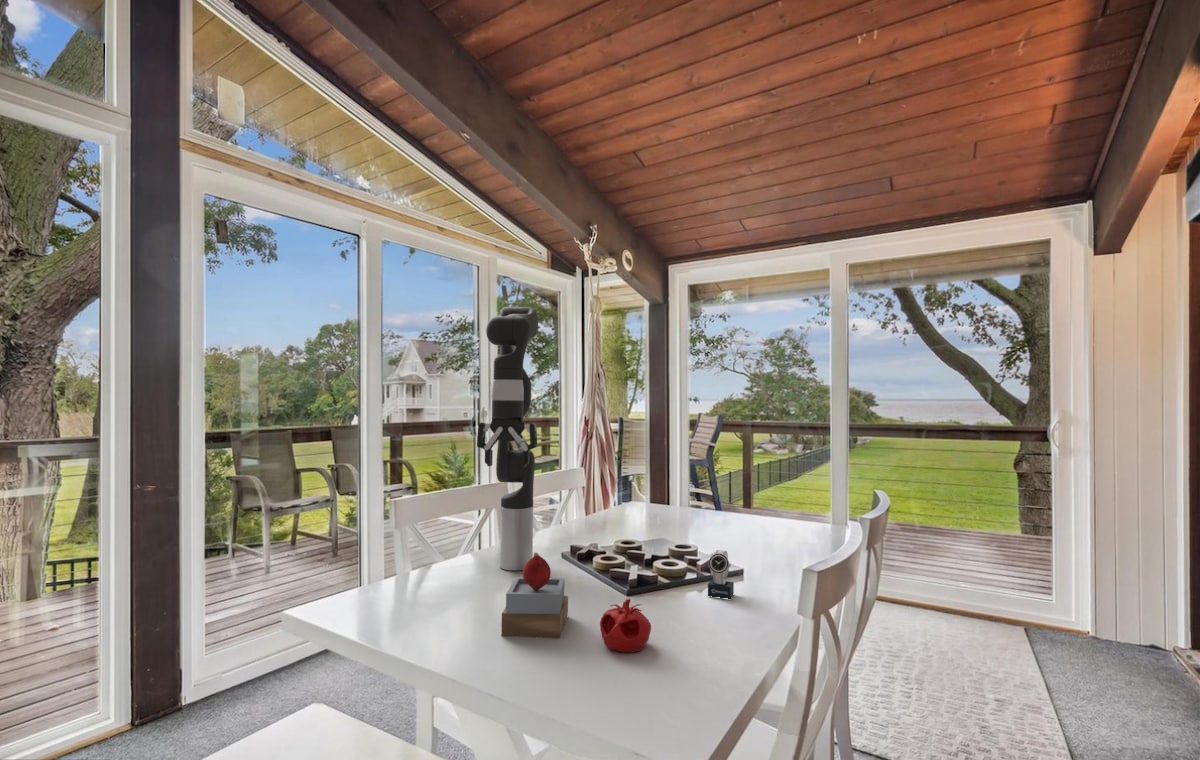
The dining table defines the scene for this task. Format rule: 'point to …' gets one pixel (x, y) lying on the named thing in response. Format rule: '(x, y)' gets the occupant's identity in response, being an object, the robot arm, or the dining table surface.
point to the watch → (720, 576)
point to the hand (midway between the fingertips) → (506, 466)
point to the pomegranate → (625, 628)
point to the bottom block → (535, 623)
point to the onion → (536, 572)
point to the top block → (535, 597)
